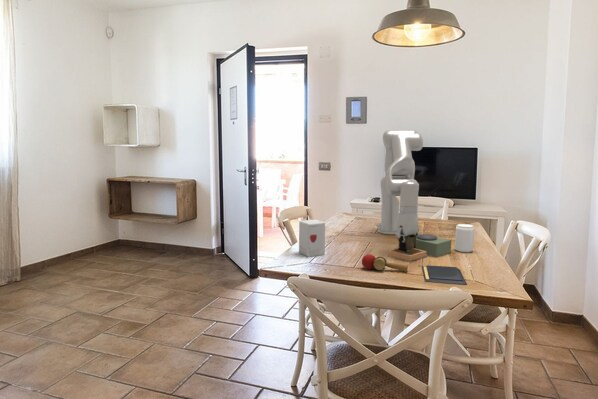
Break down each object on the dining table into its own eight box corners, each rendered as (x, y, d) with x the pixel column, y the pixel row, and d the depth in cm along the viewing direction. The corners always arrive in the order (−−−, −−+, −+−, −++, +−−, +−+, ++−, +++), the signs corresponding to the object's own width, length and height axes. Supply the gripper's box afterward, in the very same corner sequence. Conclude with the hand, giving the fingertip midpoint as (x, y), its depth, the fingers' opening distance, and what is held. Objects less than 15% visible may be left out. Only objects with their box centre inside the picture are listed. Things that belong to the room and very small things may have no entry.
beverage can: (472, 249, 198) (474, 224, 196) (473, 253, 190) (475, 227, 188) (454, 247, 200) (455, 223, 199) (454, 252, 193) (456, 226, 191)
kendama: (406, 271, 168) (362, 262, 173) (409, 257, 166) (364, 248, 171) (405, 281, 161) (359, 270, 166) (408, 266, 159) (361, 256, 164)
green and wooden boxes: (382, 254, 188) (382, 239, 187) (417, 245, 205) (417, 231, 204) (416, 263, 174) (417, 247, 173) (450, 252, 192) (451, 237, 191)
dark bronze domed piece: (416, 254, 181) (417, 236, 180) (398, 253, 182) (399, 235, 181) (415, 250, 188) (415, 233, 187) (398, 249, 189) (399, 232, 188)
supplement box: (307, 257, 184) (307, 224, 182) (298, 252, 192) (298, 220, 190) (325, 254, 188) (325, 222, 186) (315, 250, 196) (315, 219, 194)
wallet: (467, 281, 148) (423, 278, 152) (467, 287, 148) (422, 283, 152) (461, 265, 167) (421, 263, 171) (460, 270, 168) (421, 267, 171)
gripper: (413, 206, 191) (411, 244, 193) (389, 210, 180) (388, 250, 182) (427, 208, 185) (425, 247, 187) (403, 213, 174) (402, 254, 176)
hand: (407, 248), depth 185 cm, fingers closed on dark bronze domed piece, 6 cm apart
